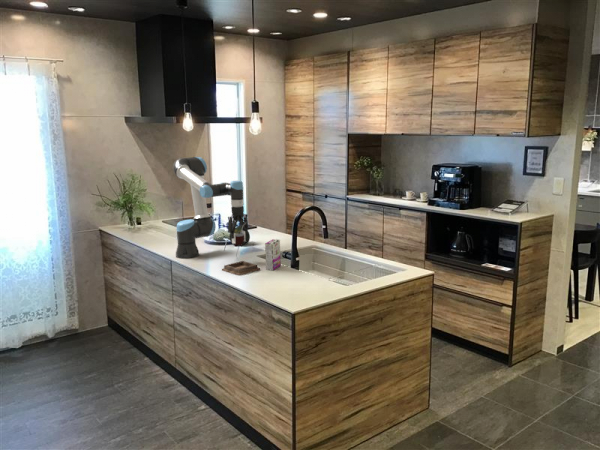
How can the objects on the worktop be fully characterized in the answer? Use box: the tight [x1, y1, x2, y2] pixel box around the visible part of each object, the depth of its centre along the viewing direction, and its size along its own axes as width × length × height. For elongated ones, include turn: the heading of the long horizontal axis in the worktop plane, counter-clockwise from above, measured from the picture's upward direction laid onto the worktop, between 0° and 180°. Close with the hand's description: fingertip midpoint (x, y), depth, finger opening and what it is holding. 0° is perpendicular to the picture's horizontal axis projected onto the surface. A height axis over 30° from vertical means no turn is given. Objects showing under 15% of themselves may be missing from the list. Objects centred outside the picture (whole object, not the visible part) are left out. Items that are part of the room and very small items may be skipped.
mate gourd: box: [234, 222, 247, 247], centre depth 322 cm, size 8×8×15 cm
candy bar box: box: [264, 238, 282, 271], centre depth 308 cm, size 11×5×16 cm, turn 158°
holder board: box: [221, 260, 261, 276], centre depth 306 cm, size 16×16×3 cm
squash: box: [228, 224, 251, 246], centre depth 373 cm, size 14×15×15 cm
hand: (238, 242), depth 323 cm, fingers closed on mate gourd, 7 cm apart
